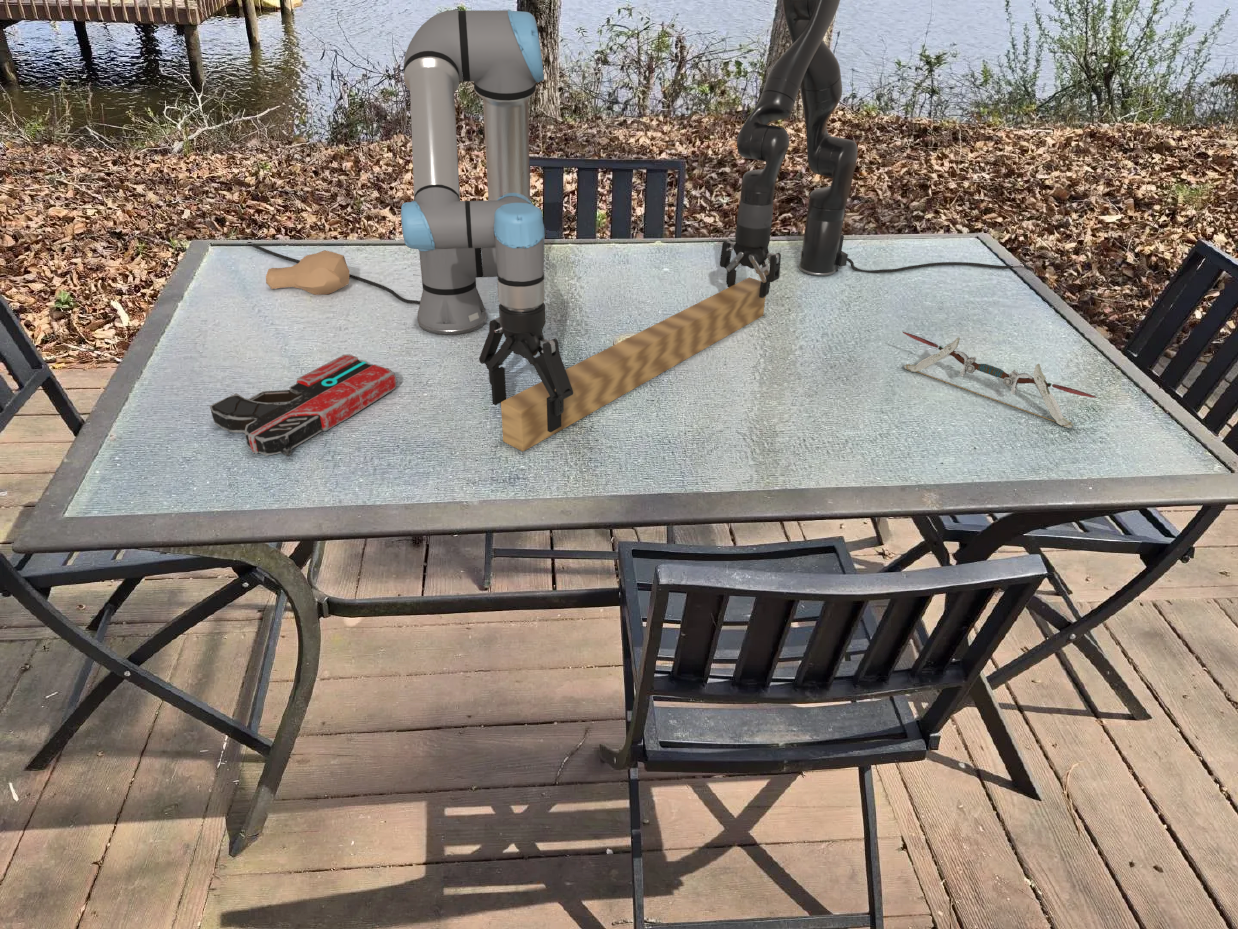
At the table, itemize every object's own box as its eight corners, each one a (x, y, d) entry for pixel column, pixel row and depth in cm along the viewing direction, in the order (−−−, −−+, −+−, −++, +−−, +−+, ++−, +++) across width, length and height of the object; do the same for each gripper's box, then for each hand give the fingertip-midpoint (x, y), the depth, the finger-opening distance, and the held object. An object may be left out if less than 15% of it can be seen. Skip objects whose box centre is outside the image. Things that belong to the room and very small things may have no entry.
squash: (349, 299, 206) (336, 265, 200) (267, 306, 208) (252, 273, 202) (359, 274, 214) (347, 241, 208) (280, 281, 216) (266, 249, 209)
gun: (194, 409, 153) (271, 444, 146) (327, 342, 175) (400, 368, 168) (201, 431, 156) (277, 466, 148) (331, 362, 178) (403, 389, 170)
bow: (1085, 430, 164) (1103, 383, 158) (1082, 434, 163) (1099, 386, 157) (897, 362, 185) (907, 319, 179) (893, 365, 184) (902, 321, 178)
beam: (522, 451, 153) (521, 411, 149) (502, 441, 156) (500, 401, 151) (763, 315, 204) (767, 282, 200) (745, 309, 207) (748, 277, 202)
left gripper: (595, 317, 138) (593, 431, 150) (486, 275, 151) (492, 383, 163) (562, 333, 133) (563, 449, 145) (453, 288, 146) (462, 398, 158)
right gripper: (791, 224, 188) (782, 295, 197) (736, 210, 196) (729, 278, 205) (773, 233, 183) (764, 305, 192) (717, 217, 191) (711, 288, 200)
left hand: (526, 415), depth 154 cm, fingers open, 13 cm apart
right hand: (746, 291), depth 199 cm, fingers open, 8 cm apart
